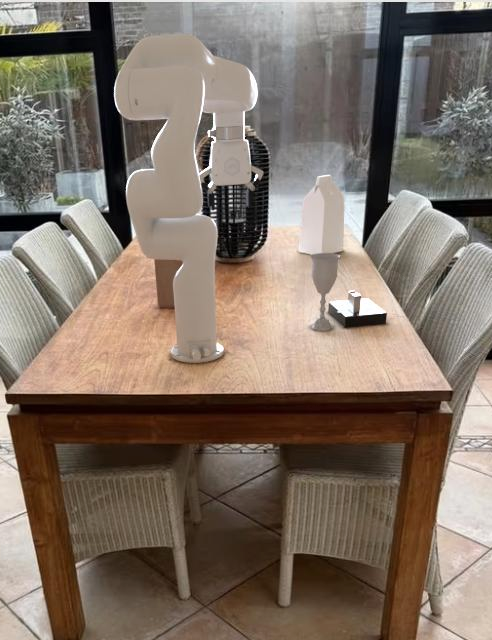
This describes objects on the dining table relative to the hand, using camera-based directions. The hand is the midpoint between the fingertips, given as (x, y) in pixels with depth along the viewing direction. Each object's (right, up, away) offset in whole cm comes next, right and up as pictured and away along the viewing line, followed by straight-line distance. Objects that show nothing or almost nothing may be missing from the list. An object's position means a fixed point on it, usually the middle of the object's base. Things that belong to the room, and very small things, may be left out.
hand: (230, 208), depth 171 cm
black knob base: (+34, -28, +4) cm, 44 cm away
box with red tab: (+32, -27, 0) cm, 42 cm away
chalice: (+24, -32, -1) cm, 39 cm away
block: (-14, -19, +24) cm, 34 cm away
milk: (+38, +14, +75) cm, 85 cm away
